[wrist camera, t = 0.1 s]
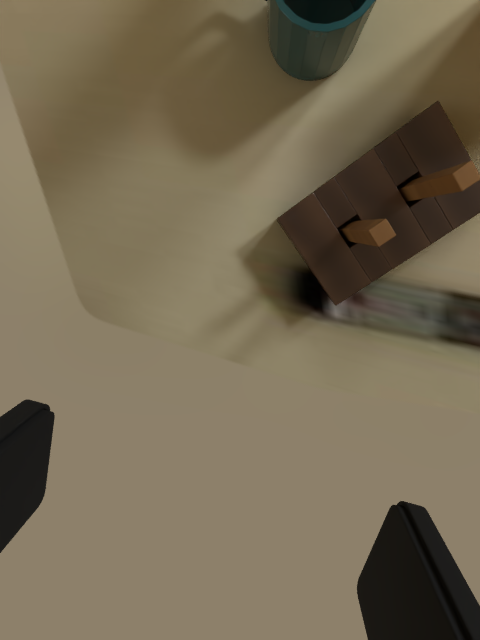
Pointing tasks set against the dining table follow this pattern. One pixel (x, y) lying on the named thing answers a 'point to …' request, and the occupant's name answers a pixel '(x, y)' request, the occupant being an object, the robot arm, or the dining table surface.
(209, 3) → the dining table surface
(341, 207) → the stirrer stand
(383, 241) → the stirrer
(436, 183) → the stirrer
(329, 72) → the mug
